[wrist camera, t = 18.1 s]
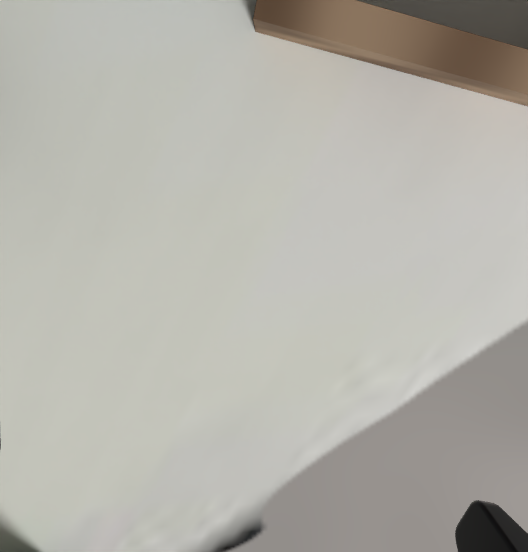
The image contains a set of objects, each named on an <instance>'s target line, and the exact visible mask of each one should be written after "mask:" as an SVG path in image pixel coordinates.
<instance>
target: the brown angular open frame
mask: <svg viewBox="0 0 528 552" xmlns="http://www.w3.org/2000/svg"><path fill="white" fill-rule="evenodd" d="M253 21H254V26H255V32H259V33H262V34H266V35H270V36H273V37H277V38H281V39H284V40H288V41H291V42H295V43H299V44H302V45H306V46H310V47H313V48H317V49H321V50H324V51H328V52H332V53H335V54H339V55H343V56H346V57H350V58H354V59H357V60H361V61H365V62H368V63H372V64H376V65H379V66H383V67H387V68H390V69H394V70H397V71H401V72H405V73H408V74H412V75H416V76H419V77H423V78H427V79H430V80H434V81H438V82H441V83H445V84H449V85H452V86H456V87H460V88H463V89H467V90H471V91H474V92H478V93H482V94H485V95H489V96H492V97H496V98H500V99H503V100H507V101H511V102H514V103H518V104H522V105H525V106H528V49H524V48H521V47H517V46H514V45H510V44H507V43H503V42H500V41H496V40H493V39H489V38H486V37H482V36H479V35H475V34H472V33H468V32H465V31H461V30H458V29H454V28H451V27H447V26H444V25H440V24H437V23H433V22H430V21H427V20H423V19H420V18H416V17H413V16H409V15H406V14H402V13H399V12H395V11H392V10H388V9H385V8H381V7H378V6H374V5H371V4H367V3H364V2H360V1H357V0H257V2H256V7H255V12H254V17H253Z"/></svg>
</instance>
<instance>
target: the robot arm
mask: <svg viewBox="0 0 528 552" xmlns="http://www.w3.org/2000/svg"><path fill="white" fill-rule="evenodd" d="M0 448H1V440H0ZM455 537H456V544H457V548H458V552H528V533H526V532H525V531H524V530H523V529H522V528H521V527H520V526H519V525H518V524H517V523H516V522H515V521H514V520H513V519H512V518H511V517H510V516H509V515H508V514H507V513H506V512H505V511H503V510H502V508H500V507H499V506H498V505H496V504H494V503H490V502H485V501H479V500H476V501H474V502H472V503H471V504H470V506H469V507H468V509H467V511H466V512H465V514H464V515H463V517H462V519H461V520H460V522H459V523H458V525H457V527H456V533H455Z"/></svg>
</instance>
